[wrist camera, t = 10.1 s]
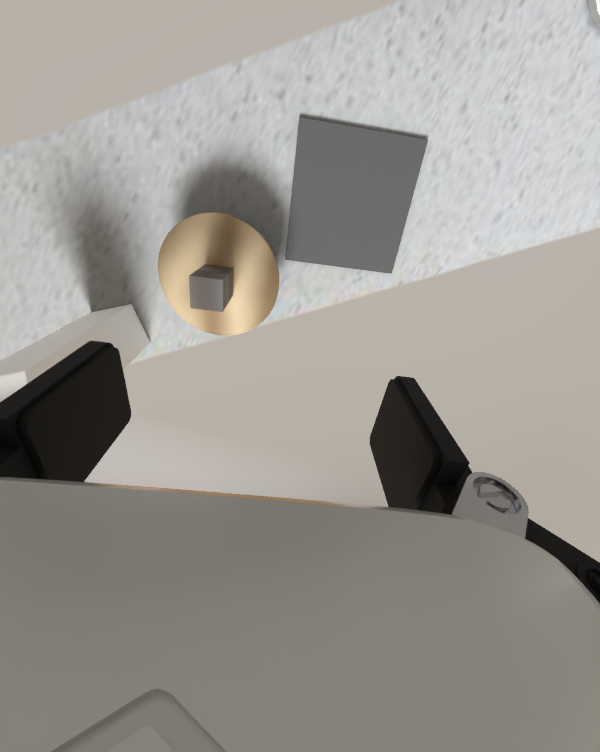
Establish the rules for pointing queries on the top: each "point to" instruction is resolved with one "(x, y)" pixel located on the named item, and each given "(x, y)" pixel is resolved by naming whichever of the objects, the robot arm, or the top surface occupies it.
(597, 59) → the top surface
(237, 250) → the lid
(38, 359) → the milk
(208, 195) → the top surface
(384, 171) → the mat
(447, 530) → the robot arm
